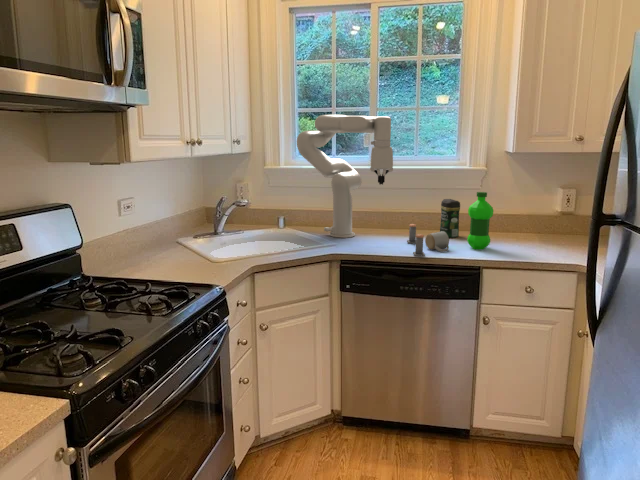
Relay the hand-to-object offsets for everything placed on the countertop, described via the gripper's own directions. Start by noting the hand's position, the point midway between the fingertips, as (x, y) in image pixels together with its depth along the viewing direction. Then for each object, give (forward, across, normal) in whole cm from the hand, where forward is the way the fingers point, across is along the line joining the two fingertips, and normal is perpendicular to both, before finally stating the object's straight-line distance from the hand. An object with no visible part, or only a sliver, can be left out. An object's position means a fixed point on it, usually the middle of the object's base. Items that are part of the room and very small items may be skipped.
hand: (381, 184), depth 231 cm
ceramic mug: (+27, +25, -16) cm, 40 cm away
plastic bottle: (+27, +43, -13) cm, 53 cm away
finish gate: (+27, +15, -15) cm, 34 cm away
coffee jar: (+27, +35, +13) cm, 46 cm away
